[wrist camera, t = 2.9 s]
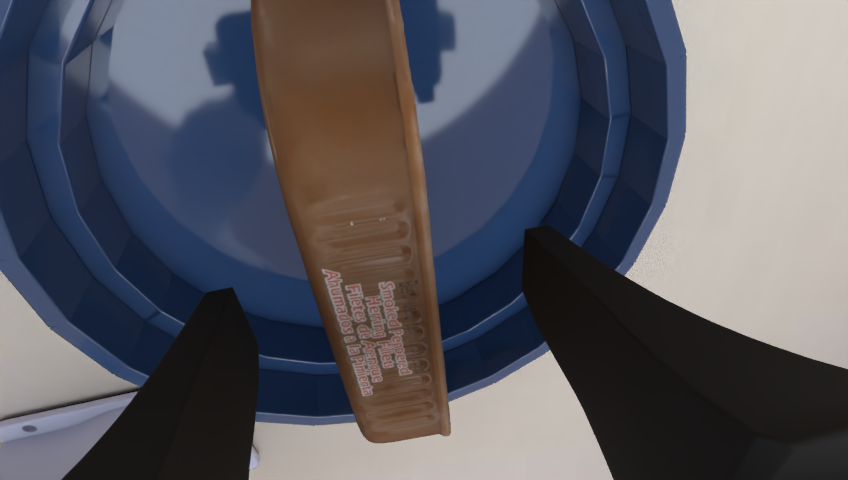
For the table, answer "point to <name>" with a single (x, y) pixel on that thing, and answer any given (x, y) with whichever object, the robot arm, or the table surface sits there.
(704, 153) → the table surface
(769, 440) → the robot arm
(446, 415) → the tin
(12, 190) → the bowl
